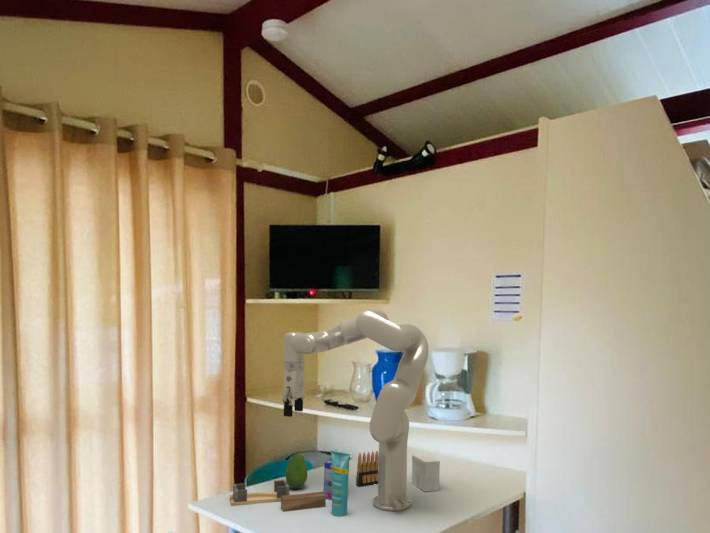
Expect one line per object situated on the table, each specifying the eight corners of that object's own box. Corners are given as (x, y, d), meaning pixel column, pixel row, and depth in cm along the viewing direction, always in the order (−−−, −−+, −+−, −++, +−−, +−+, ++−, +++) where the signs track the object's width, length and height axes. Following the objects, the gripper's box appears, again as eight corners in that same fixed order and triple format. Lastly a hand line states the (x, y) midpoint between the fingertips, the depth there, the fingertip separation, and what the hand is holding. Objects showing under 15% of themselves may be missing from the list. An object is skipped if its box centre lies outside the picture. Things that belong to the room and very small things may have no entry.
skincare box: (440, 490, 194) (440, 460, 195) (424, 492, 192) (424, 462, 192) (426, 481, 204) (426, 452, 204) (411, 482, 202) (411, 454, 202)
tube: (325, 513, 172) (326, 451, 173) (333, 508, 176) (334, 448, 177) (346, 518, 168) (347, 455, 169) (353, 513, 172) (354, 451, 173)
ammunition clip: (381, 481, 202) (381, 449, 203) (384, 483, 201) (384, 450, 201) (355, 485, 198) (356, 452, 198) (358, 487, 196) (358, 453, 197)
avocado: (311, 488, 194) (312, 454, 194) (293, 493, 189) (294, 458, 189) (298, 482, 200) (299, 449, 200) (280, 487, 194) (281, 453, 195)
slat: (325, 507, 177) (325, 495, 177) (283, 512, 173) (283, 499, 173) (322, 503, 181) (322, 491, 181) (281, 508, 176) (281, 495, 176)
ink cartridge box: (337, 501, 182) (338, 457, 183) (322, 498, 184) (323, 455, 185) (348, 491, 192) (348, 449, 192) (333, 489, 194) (334, 447, 194)
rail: (291, 500, 183) (292, 486, 183) (231, 505, 177) (231, 491, 177) (288, 492, 189) (288, 479, 190) (229, 498, 183) (230, 484, 184)
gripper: (294, 369, 189) (293, 419, 188) (312, 364, 205) (311, 409, 204) (274, 368, 191) (273, 417, 190) (294, 363, 208) (293, 408, 207)
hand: (293, 413), depth 197 cm, fingers open, 9 cm apart
